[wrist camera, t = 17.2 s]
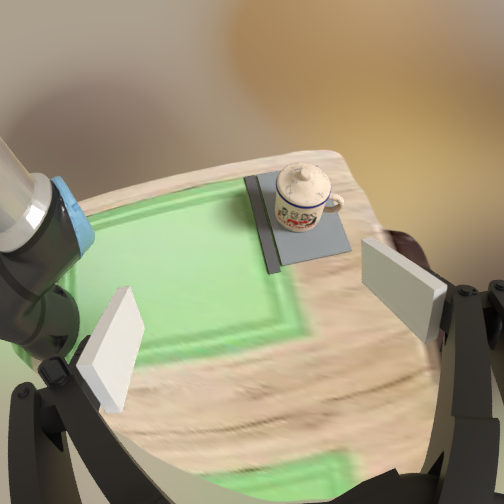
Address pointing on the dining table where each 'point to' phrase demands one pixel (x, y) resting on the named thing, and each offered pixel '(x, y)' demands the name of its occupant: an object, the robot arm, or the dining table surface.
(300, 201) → the teacup with lid
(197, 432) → the dining table surface
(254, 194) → the black line strip
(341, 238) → the slate mat
